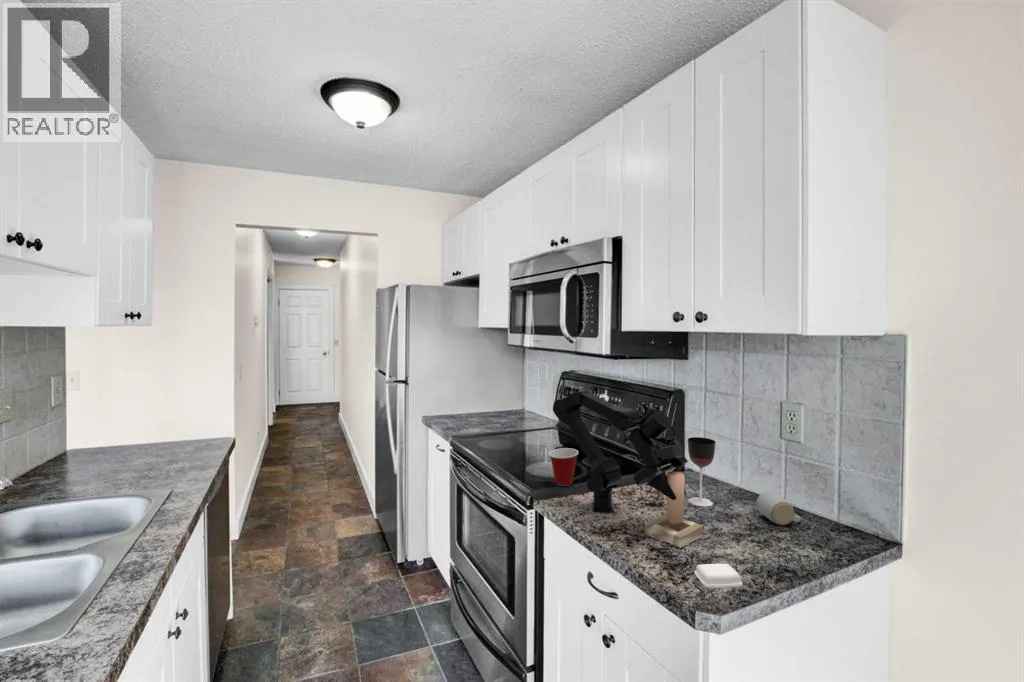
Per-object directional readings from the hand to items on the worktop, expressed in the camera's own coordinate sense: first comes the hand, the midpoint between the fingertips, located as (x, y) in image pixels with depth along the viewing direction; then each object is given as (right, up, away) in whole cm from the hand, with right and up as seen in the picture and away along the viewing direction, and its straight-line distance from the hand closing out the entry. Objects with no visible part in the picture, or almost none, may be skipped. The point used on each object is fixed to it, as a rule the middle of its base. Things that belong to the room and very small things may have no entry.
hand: (679, 497), depth 131 cm
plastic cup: (-27, -10, +43) cm, 52 cm away
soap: (+2, -13, -20) cm, 24 cm away
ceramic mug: (+33, -11, +11) cm, 37 cm away
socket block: (-1, -11, +2) cm, 11 cm away
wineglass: (+16, -10, +26) cm, 32 cm away
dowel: (-1, -7, +1) cm, 7 cm away
